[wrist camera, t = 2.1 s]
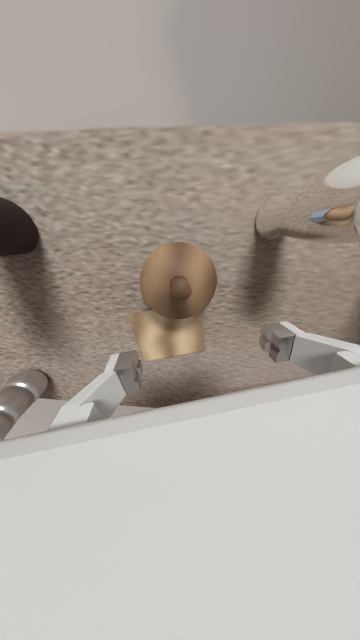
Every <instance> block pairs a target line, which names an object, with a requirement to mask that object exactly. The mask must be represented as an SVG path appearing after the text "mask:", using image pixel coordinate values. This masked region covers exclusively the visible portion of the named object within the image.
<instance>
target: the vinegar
mask: <svg viewBox="0 0 360 640" xmlns="http://www.w3.org/2000/svg"><path fill="white" fill-rule="evenodd" d="M37 242H38V233H37V230H36V227H35V224H34V223H33V221H32V219H31V218H30V216H29V215H28V214H27V213H26V212H25V211H24V210H23V209H22V208H21V207H19V206H18V205H16V204H15V203H13V202H11V201H9V200H6V199H3V198H0V256H6V255H17V254H25V253H28V252H30V251H32V250H33V249H34V248H35V247H36V244H37Z"/></svg>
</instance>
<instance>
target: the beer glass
mask: <svg viewBox="0 0 360 640" xmlns="http://www.w3.org/2000/svg"><path fill="white" fill-rule="evenodd" d="M256 230H257V232H258V234H259V235H260V236H261V237H262V238H264V239H267V240H272V239H276V238H279V237H282V236H285V237H290V238H294V239H298V240H302V241H306V242H312V243H322V244H343V243H358V242H360V155H358V156H356V157H353V158H351V159H348V160H346V161H344V162H342V163H340V164H338V165H335V166H333V167H331V168H330V169H328V170H326V171H324V172H323V173H321V174H319V175H317V176H316V177H314V178H313V179H311V180H310V181H308V182H307V183H305V184H303V185H302V186H300V187H299V188H297V189H296V190H294V191H293V192H290V193H288V194H277V195H274V196H271V197H270V198H268V199H267V200H266V201H265V202H264V203H263V204H262V205H261V207H260V209H259V211H258V213H257V216H256Z"/></svg>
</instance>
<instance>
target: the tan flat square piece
mask: <svg viewBox="0 0 360 640" xmlns="http://www.w3.org/2000/svg"><path fill="white" fill-rule="evenodd" d="M129 317H130V320H131V323H132V326H133V329H134V332H135V335H136V338H137V341H138V344H139V347H140V350H141V353H142V356H143V359H144V362H145V361H151V360H156V359H162V358H167V357H173V356H178V355H184V354H189V353H194V352H200V351H205V346H204V334H203V322H202V311H201V312H199V313H198V314H196V315H194V316H192V317H189V318H185V319H170V318H166V317H163V316H161V315H159V314H157V313H156V312H155V311H153V310H148V311H142V312H136V313H130V314H129Z"/></svg>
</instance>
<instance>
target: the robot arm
mask: <svg viewBox="0 0 360 640" xmlns="http://www.w3.org/2000/svg"><path fill="white" fill-rule="evenodd" d="M260 332H261V333H262V335H261V336H260V338H259V343H260V346H261V348H262V349H263V350H264V351H266V352H268V353H269V356H270V357H271V358H272V359H273V360H274V362H275V363H277V362H283V361H289V360H290V362H292V363H294V364H296V365H298V366H300V367H302V368H304V369H306V370H309V371H311V372H313V373H315V374H317V375H315V376H310V377H305V378H300V379H296V380H291V381H286V382H281V383H276V384H271V385H266V386H262V387H257V388H252V389H247V390H242V391H237V392H233V393H228V394H223V395H218V396H213V397H209V398H204V399H199V400H194V401H189V402H185V403H180V404H175V405H170V406H165V407H161V408H156V409H151V410H146V411H141V412H137V413H132V414H127V415H122V416H118V417H113V418H110V416H111V415H112V414H113V412H114V411H115V409H116V408H117V406H118V405H119V404H120V402H121V401H122V400H123V398H124V397H125V395H126V393H130V392H135V391H139V390H140V389H141V382H142V381H141V378H140V377H141V376H142V374H143V367H142V363H141V360H139V359H138V357H139V354H138V352H137V351H136V350H134V351H128V352H122V353H117V354H112V355H111V357H110V359H109V361H108V364H107V366H106V368H105V370H104V373H103V374H100V375H99V376H98V377H97V378H95V379H94V380H93V381H92V382H91V383H89V384H88V385H87V386H86V387H85V388H84V389H82V390H81V391H80V392H79V393H78V394H77V395H75V396H74V397H73V398H72V399H71V400H70V401H68V402H67V403H66V404H65V405H64V406H62V407H61V409H60V411H59V413H58V414H57V416H56V418H55V419H54V421H53V422H52V424H51V426H50V428H49V429H48V431H45V432H40V433H35V434H31V435H26V436H21V437H17V438H12V439H6V440H2V441H0V640H360V345H357V344H353V343H349V342H344V341H340V340H336V339H332V338H328V337H324V336H320V335H315V334H311V333H305V332H303V331H302V330H300V329H299V328H297V327H295V326H294V325H292V324H290V323H289V322H287V321H282V322H278V323H274V324H269V325H264V326H262V327H261V329H260Z"/></svg>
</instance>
